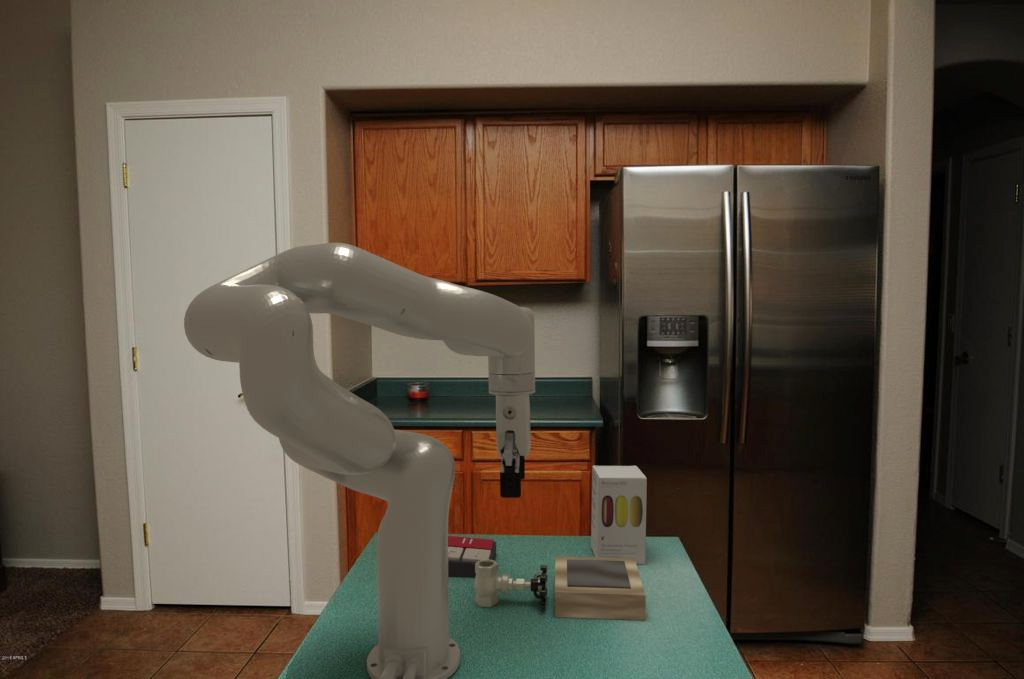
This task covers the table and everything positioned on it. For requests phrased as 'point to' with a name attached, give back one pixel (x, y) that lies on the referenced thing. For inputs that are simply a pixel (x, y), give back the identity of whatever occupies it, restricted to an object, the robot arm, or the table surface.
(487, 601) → the valve
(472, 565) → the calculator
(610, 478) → the supplement box
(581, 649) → the table surface
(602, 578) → the tapered tan tray
